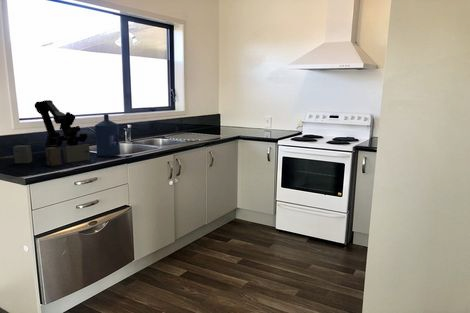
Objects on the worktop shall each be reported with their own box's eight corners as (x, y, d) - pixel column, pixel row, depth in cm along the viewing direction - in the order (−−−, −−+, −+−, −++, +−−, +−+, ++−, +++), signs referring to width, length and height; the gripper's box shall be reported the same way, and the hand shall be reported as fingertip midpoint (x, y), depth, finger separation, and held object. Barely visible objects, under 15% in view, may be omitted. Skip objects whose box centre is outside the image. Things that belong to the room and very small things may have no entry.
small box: (32, 161, 230) (30, 145, 228) (27, 163, 224) (26, 146, 222) (19, 161, 229) (17, 145, 227) (14, 163, 224) (12, 146, 222)
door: (65, 163, 222) (63, 147, 221) (63, 162, 224) (62, 146, 223) (91, 159, 233) (89, 144, 231) (89, 159, 235) (88, 144, 233)
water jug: (94, 156, 244) (91, 115, 239) (99, 152, 260) (96, 113, 254) (118, 156, 247) (116, 115, 242) (122, 152, 262) (119, 113, 257)
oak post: (47, 164, 221) (45, 148, 219) (56, 162, 225) (54, 147, 223) (52, 165, 216) (50, 149, 215) (61, 164, 221) (60, 148, 219)
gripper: (56, 123, 222) (66, 142, 217) (85, 120, 236) (95, 139, 231) (51, 134, 229) (61, 154, 224) (79, 132, 243) (89, 150, 238)
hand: (77, 149), depth 229 cm, fingers closed, pressing on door
